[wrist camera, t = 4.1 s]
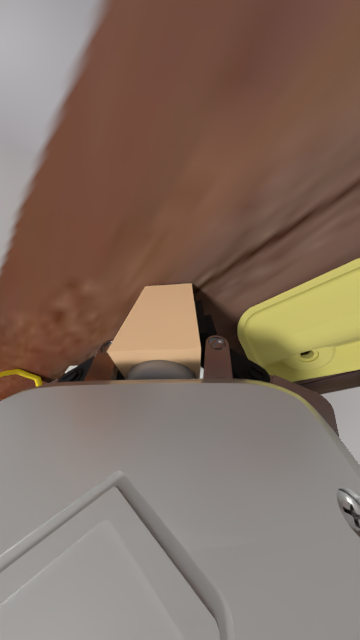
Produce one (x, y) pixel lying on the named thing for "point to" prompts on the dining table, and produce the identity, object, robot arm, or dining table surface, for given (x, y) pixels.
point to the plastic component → (307, 327)
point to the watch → (23, 373)
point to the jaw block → (159, 336)
